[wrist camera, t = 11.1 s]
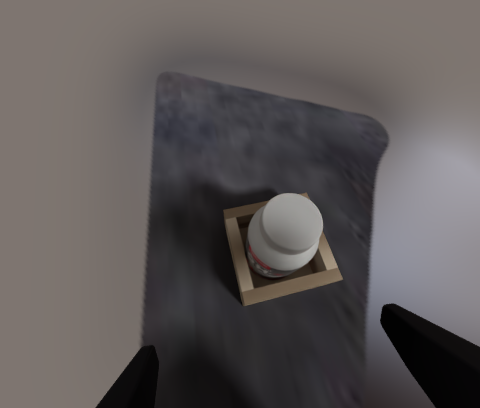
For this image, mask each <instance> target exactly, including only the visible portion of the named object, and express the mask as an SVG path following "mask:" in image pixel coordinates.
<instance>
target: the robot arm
mask: <svg viewBox="0 0 480 408" xmlns="http://www.w3.org/2000/svg"><path fill="white" fill-rule="evenodd" d="M380 322H381V325H382V327H383V329H384V330H385V332H386V334H387V336H388V337H389V339H390V341H391V342H392V344H393V345H394V347H395V349H396V350H397V352H398V353H399V355H400V357H401V359H402V360H403V362H404V363H405V365H406V366H407V368H408V369H409V371H410V372H411V374H412V375H413V377H414V378H415V379H416V381H417V382H418V384H419V385H420V386H421V388H422V389H423V390H424V392H425V393H426V394H427V396H428V397H429V399H430V400H431V402H432V403H433V404H434V406H435V407H436V408H480V347H479V346H477V345H475V344H473V343H471V342H469V341H467V340H465V339H463V338H461V337H459V336H457V335H455V334H453V333H451V332H449V331H447V330H445V329H443V328H442V327H440V326H438V325H435V324H433V323H431V322H430V321H428V320H426V319H424V318H422V317H420V316H418V315H416V314H414V313H412V312H410V311H408V310H406V309H404V308H402V307H400V306H398V305H396V304H386V305H384V306H383V307H382V313H381V319H380ZM158 370H159V361H158V357H157V353H156V350H155V347H154V346H153V345H149V346H144V347H142V348H141V349H140V350H139V351H138V352H137V354H136V355H135V356H134V358H133V359H132V361H131V362H130V363H129V365H128V366H127V367H126V368H125V370H124V371H123V372H122V374H121V375H120V376H119V378H118V379H117V380H116V381H115V383H114V384H113V386H112V387H111V388H110V389H109V391H108V392H107V393H106V395H105V396H104V397H103V399H102V400H101V401H100V403H99V404H98V405H97V407H96V408H154V405H155V396H156V387H157V379H158Z"/></svg>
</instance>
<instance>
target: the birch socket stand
mask: <svg viewBox="0 0 480 408" xmlns="http://www.w3.org/2000/svg"><path fill="white" fill-rule="evenodd" d="M299 195H302V196H304V197H306V198H307V199H309V197H308V195H307V193H304V194H299ZM268 202H269V201H265V202H260V203H255V204H250V205H245V206H240V207H235V208H231V209H226V210H223V211H224V221H225V228H226V232H227V237H228V241H229V246H230V250H231V255H232V259H233V264H234V268H235V273H236V277H237V282H238V286H239V291H240V295H241V300H242V304H243V306H246V305H250V304H254V303H258V302H262V301H265V300H269V299H273V298H277V297H281V296H285V295H288V294H292V293H296V292H300V291H304V290H307V289H311V288H315V287H319V286H323V285H326V284H330V283H333V282H336V281H339V280H343V279H342V276H341V274H340V271H339V269H338V267H337V264H336V262H335V259H334V257H333V255H332V252H331V250H330V247H329V245H328V243H327V240H326V238H325V235H324V233H323V231H322V233H321V236H320V238H319V245H318V249H317V251H316V253H315V255H314V256H313V258H312V259H311V260H310V261H309V262H308V263H307V264H306V265H304V266H303V267H301V268H300V269H298V270H296V271H295V272H293V273H292V274H290V275H288V276H287V277H285V278H283V279H281V280H276V281H269V280H264V279H262V278H260V277H258V276H256V275H255V274H254V273H253V272H252V271H251V270H250V268H249V267H248V264H247V260H246V256H245V244H246V239H247V234H248V227H249V224H250V221H251V219H252V217H253V216H254V214H255V213H256V212H257V211H258V210H259V209H260V208H261V207H263V206H265V205H266V204H267V203H268Z"/></svg>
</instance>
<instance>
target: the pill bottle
mask: <svg viewBox="0 0 480 408" xmlns="http://www.w3.org/2000/svg"><path fill="white" fill-rule="evenodd" d="M322 229H323V221H322V216H321V214H320V212H319V210H318V208H317V207H316V205H315V204H314V203H313V202H312V201H310V200H309V199H307V198H306V197H304V196H302V195H299V194H294V193H284V194H280V195H277V196H275V197H273V198H272V199H271V200H270V201H269V202H268V203H267V204H266V205H265V206H263V207H261V208H260V209H259V210H258V211H257V212H256V213H255V214H254V216H253V217H252V219H251V221H250V224H249V227H248V234H247V239H246V244H245V256H246V260H247V264H248V267H249V268H250V270H251V271H252V272H253V273H254V274H255V275H256V276H258V277H260V278H262V279H264V280H269V281H276V280H281V279H283V278H285V277H287V276H288V275H290V274H292V273H293V272H295V271H296V270H298V269H300V268H301V267H303V266H304V265H306V264H307V263H308V262H309V261H310V260H311V259H312V258H313V256H314V255H315V253H316V251H317V249H318V245H319V238H320V236H321V233H322Z"/></svg>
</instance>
